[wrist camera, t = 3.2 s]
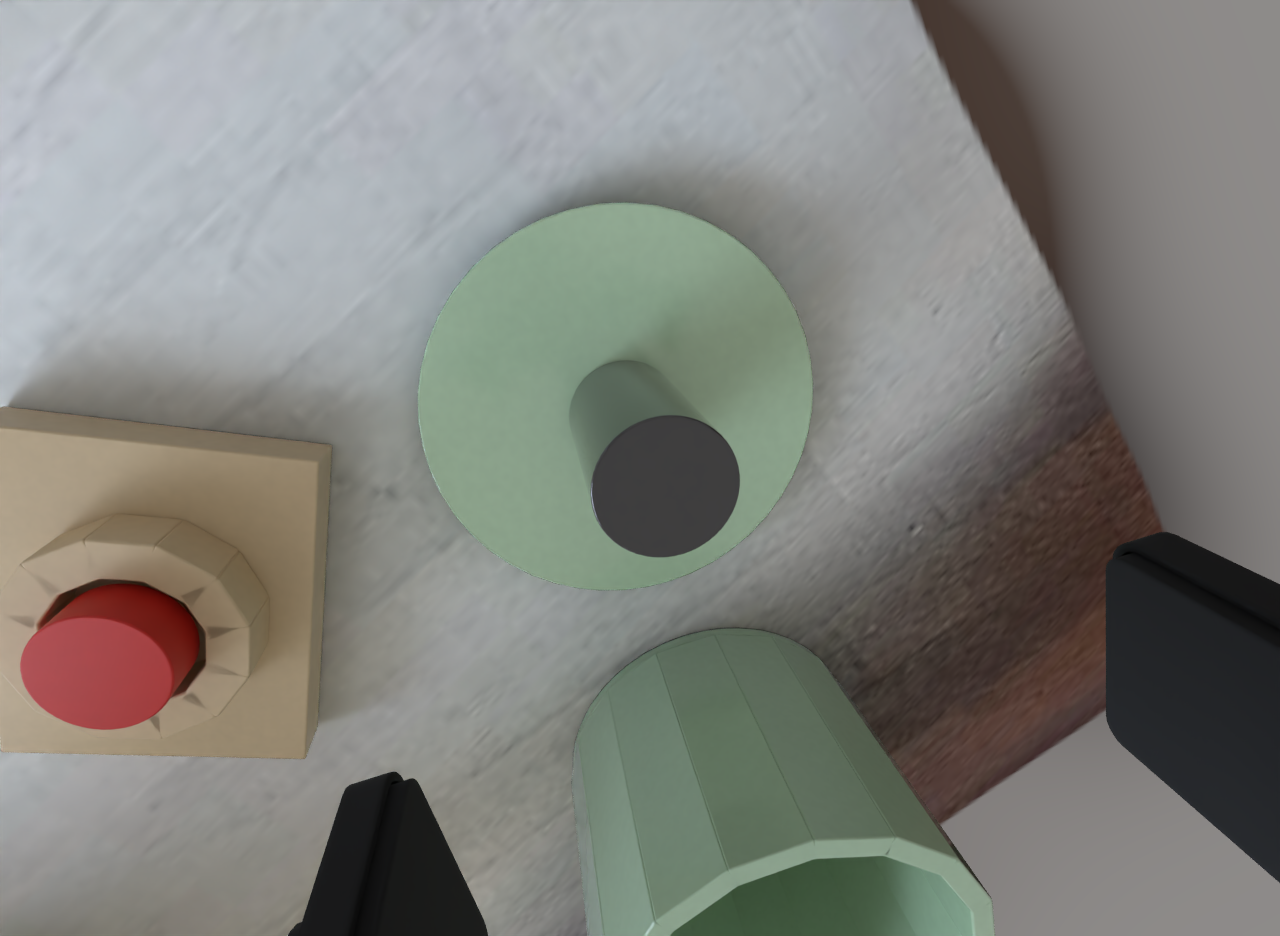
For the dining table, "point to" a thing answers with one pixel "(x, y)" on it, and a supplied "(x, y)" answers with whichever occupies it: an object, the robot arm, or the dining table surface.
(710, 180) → the dining table surface
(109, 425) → the switch block
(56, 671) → the button
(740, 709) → the mint green cup
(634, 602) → the dining table surface
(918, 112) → the dining table surface
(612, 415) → the lid
